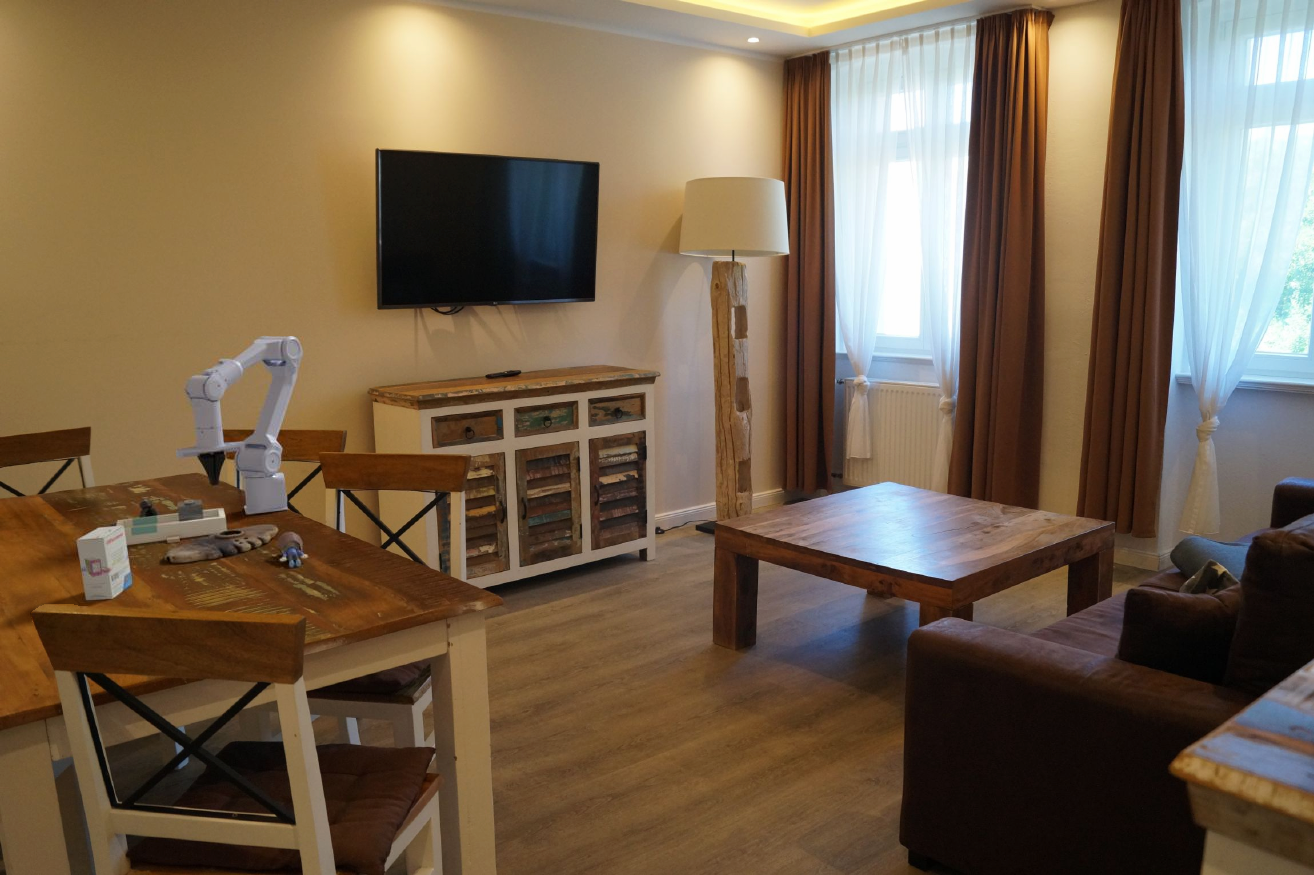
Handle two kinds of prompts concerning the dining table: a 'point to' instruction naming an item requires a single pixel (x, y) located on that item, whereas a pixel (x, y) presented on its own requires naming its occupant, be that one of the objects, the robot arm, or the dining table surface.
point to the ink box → (104, 562)
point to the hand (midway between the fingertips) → (214, 484)
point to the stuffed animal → (145, 510)
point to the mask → (222, 544)
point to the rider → (190, 510)
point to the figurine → (291, 548)
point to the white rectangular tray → (172, 527)
